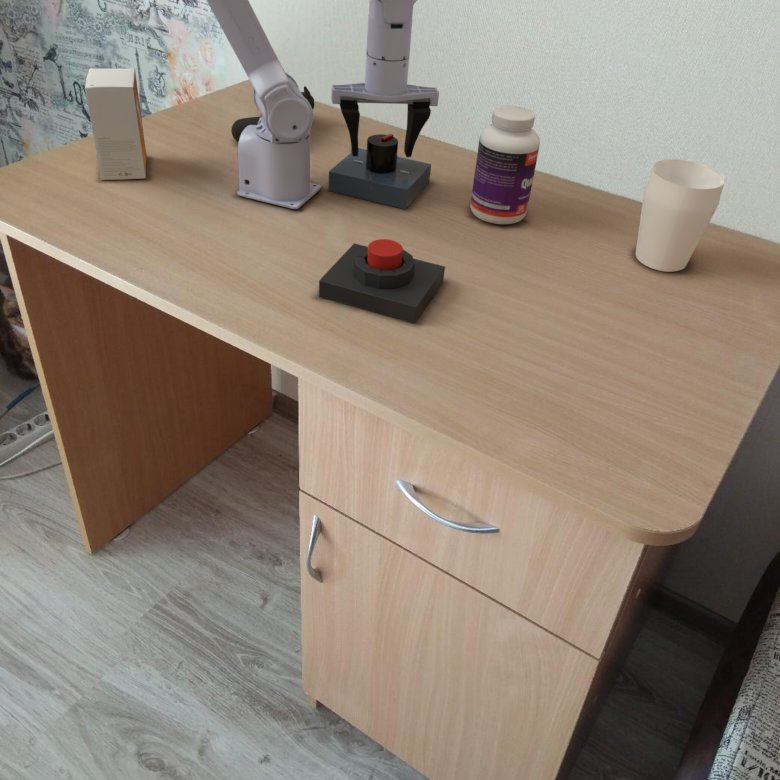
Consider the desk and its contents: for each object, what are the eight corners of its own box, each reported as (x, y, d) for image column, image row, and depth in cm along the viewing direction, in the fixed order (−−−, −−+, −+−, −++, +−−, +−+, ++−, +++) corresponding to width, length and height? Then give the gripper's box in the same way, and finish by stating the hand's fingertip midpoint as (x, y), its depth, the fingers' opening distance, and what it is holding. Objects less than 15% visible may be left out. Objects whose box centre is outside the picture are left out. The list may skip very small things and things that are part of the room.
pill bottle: (523, 231, 106) (543, 127, 97) (465, 222, 107) (480, 119, 98) (527, 206, 112) (546, 106, 103) (472, 198, 113) (487, 98, 104)
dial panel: (328, 190, 112) (328, 170, 110) (356, 166, 119) (357, 146, 117) (405, 209, 109) (407, 188, 107) (429, 183, 116) (431, 162, 114)
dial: (383, 176, 110) (385, 146, 107) (359, 166, 112) (361, 137, 109) (402, 167, 113) (404, 138, 110) (378, 158, 115) (380, 129, 112)
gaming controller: (242, 162, 124) (293, 138, 119) (223, 128, 121) (274, 103, 116) (278, 125, 136) (325, 103, 132) (261, 95, 134) (308, 71, 129)
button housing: (318, 296, 90) (318, 266, 88) (353, 258, 98) (354, 229, 95) (415, 323, 87) (418, 293, 85) (443, 282, 95) (447, 253, 92)
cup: (696, 251, 105) (726, 167, 97) (694, 283, 98) (726, 195, 91) (629, 237, 107) (653, 153, 99) (622, 267, 100) (648, 180, 93)
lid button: (361, 266, 89) (362, 250, 88) (375, 251, 92) (375, 235, 91) (393, 275, 88) (395, 259, 87) (406, 259, 91) (407, 243, 90)
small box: (147, 179, 111) (133, 86, 103) (100, 181, 110) (83, 87, 101) (147, 156, 117) (135, 67, 109) (103, 157, 116) (87, 67, 108)
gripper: (435, 47, 107) (425, 143, 115) (330, 43, 104) (328, 142, 113) (446, 63, 101) (434, 163, 110) (335, 60, 99) (332, 162, 108)
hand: (381, 154), depth 111 cm, fingers open, 7 cm apart
